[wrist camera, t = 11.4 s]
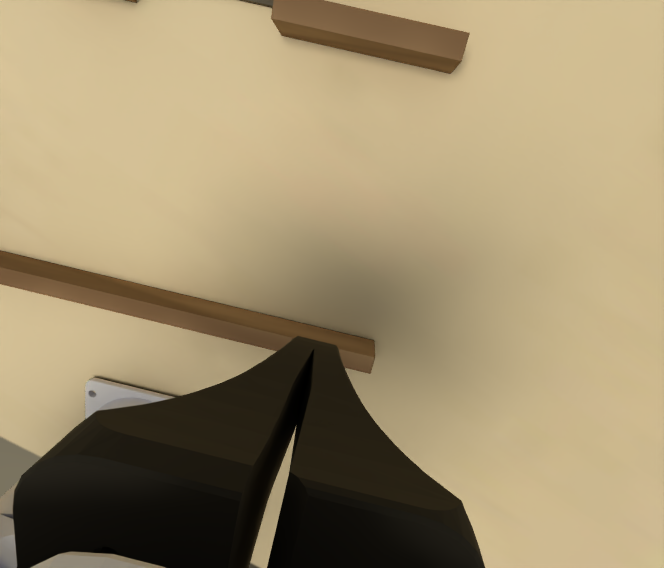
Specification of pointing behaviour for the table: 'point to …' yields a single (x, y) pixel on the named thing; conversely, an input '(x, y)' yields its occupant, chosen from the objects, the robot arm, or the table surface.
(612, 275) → the table surface
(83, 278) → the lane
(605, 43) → the table surface
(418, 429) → the table surface
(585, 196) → the table surface
